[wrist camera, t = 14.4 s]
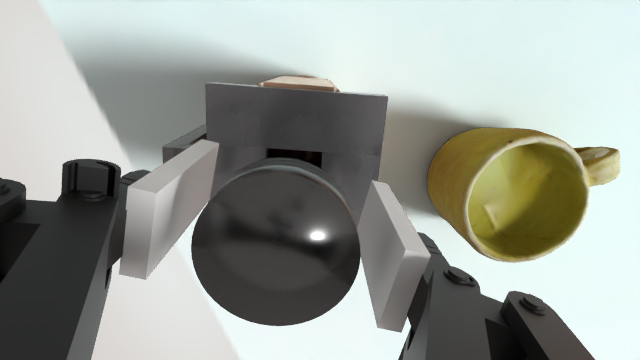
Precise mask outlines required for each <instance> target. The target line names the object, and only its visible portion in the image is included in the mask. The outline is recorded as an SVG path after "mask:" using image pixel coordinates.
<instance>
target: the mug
mask: <svg viewBox="0 0 640 360" xmlns="http://www.w3.org/2000/svg"><path fill="white" fill-rule="evenodd" d="M619 158H620V154H619V150H617V149H614V148H608V147H584V148H572V147H571V146H570V145H568V144H567V143H566V142H564V141H562V140H561V139H559V138H556V137H554V136H551V135H548V134H545V133H542V132H540V131H536V130H531V129H519V128H477V129H472V130H469V131H466V132H462V133H460V134H458V135H456V136H454V137H452V138H451V139H450V140H448V141H447V142H446V143H445V144H444V145H443V146H442V147H441V148H440V149H439V150H438V151H437V153H436V155H435V156H434V158H433V160H432V162H431V165H430V167H429V170H428V174H427V190H428V195H429V198H430V200H431V202H432V204H433V206H434V208H435V209H436V211H437V212H438V213H439V215H440V216H441V217H442V218H443V219H445V220H446V221H447V222H448V223H449V224H450V225H451V226H452V227H453V228H454V229H455V230H456V231H457V233H459V234H460V235H461V236H462V237H463V238H464V239H465V240H466V241H467V242H468V243H469V244H470V245H471V246H472V247H473V248H474V249H475V250H476V251H477V252H479V253H480V254H482V255H484V256H486V257H488V258H490V259H493V260H497V261H502V262H512V263H518V262H525V261H531V260H535V259H537V258H540V257H543V256H545V255H547V254H549V253H551V252H553V251H554V250H556V249H557V248H559V247H560V246H562V245H563V244H565V243H566V242H567V241H568V240H569V239H570V238H571V237H572V236H573V235H574V233H575V232H576V230H577V229H578V228H579V226H580V225H581V223H582V221H583V219H584V217H585V214H586V211H587V207H588V198H589V187H591V186H596V185H603V184H605V183H608V182H610V181H612V180H614V179H616V178H617V176H618V174H619V173H620V161H619Z"/></svg>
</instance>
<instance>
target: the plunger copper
mask: <svg viewBox="0 0 640 360" xmlns="http://www.w3.org/2000/svg"><path fill="white" fill-rule="evenodd" d="M321 157H322V152H316V151H302V150H288V149H273V148H268V159H263V160H259V161H256V162H253V163H250V164H248V165H246V166H244V167H242V168H241V169H239V170H238V171H236V172H235V173H234V174H233V175H231V176H230V177H229V178H228V179H227V180H226V181H225V183H224V184H223V185H222V186H221V188H220V189H219V190H218V191H217V193H216V194H215V195H214V197H213V198H212V199H211V200H210V202H209V203H208V204H207V205H206V207H205V208H204V209H203V211H202V213H201V214H200V216H199V218H198V220H197V223H196V225H195V228H194V232H193V236H192V245H191V251H192V260H193V265H194V268H195V271H196V274H197V277H198V279H199V280H200V282H201V284H202V286H203V287H204V289H205V290H206V292H207V293H208V294H209V295H210V296H211V297H212V298H213V300H214V301H215V302H217V303H218V304H219V305H220V306H221V307H223V308H224V309H226V310H227V311H229V312H230V313H232V314H234V315H236V316H238V317H239V318H242V319H245V320H247V321H250V322H254V323H258V324H263V325H270V326H286V325H294V324H299V323H303V322H306V321H310V320H312V319H314V318H317V317H319V316H321V315H323V314H324V313H326V312H328V311H329V310H330V309H332V308H333V307H334V306H336V305H337V304H338V303H339V302H340V301H341V300H342V299H343V298H344V296H345V295H346V294H347V292H348V291H349V290H350V288H351V286H352V284H353V283H354V280H355V278H356V275H357V273H358V268H359V264H360V255H361V254H360V242H359V237H358V232H357V228H356V224H355V220H354V216H353V212H352V208H351V205H350V202H349V200H348V198H347V196H346V194H345V192H344V191H343V189H342V188H341V187H340V185H339V184H338V183H337V182H336V181H335V180H334V179H333V178H332V177H331V176H330V175H329V174H327V173H326V172H325V171H323V170H322V169H321Z"/></svg>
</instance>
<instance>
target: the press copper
mask: <svg viewBox="0 0 640 360" xmlns="http://www.w3.org/2000/svg"><path fill="white" fill-rule="evenodd" d="M387 102H388V96H386V95H378V94H365V93H352V92H340V91H339V90H338V89H337V88H336V87H335V85H334V84H333V83H332V82H331V81H329V80H328V79H319V78H315V77H311V76H280V77H277V78H274V79H271V80H267V81H264V82H261V83H259V84H258V85H245V84H231V83H218V82H208V83H206V124H205V125H203V126H201V127H199V128H197V129H195V130H193V131H191V132H190V133H188V134H186V135H184V136H182V137H180V138H178V139H176V140H174V141H173V142H171V143H169V144H167V145H165V146H163V147H162V149H163V164H164V163H166V162H167V161H169V160H170V159H172V158H173V157H175V156H177V155H178V154H180V153H181V152H183V151H184V150H186V149H187V148H189V147H190V146H192V145H194V144H195V143H197V142H198V141H200V140H201V139H204V140H208V141H212V142H216V143H219V148H218V153H217V159H216V165H215V171H214V177H213V182H212V188H211V194H210V200H211V199H212V198H213V197H214V195H215V194H216V193H217V191H218V190H219V189H220V188H221V186H222V185H223V184H224V183H225V181H226V180H227V179H228V178H229V177H230V176H231V175H233V174H234V173H235V172H236V171H238V170H239V169H241V168H242V167H244V166H246V165H248V164H250V163H253V162H256V161H259V160H263V159H268V148H273V149H288V150H302V151H316V152H322V157H321V169H322V170H323V171H325V172H326V173H327V174H329V175H330V176H331V177H332V178H333V179H334V180H335V181H336V182H337V183H338V184H339V185H340V187H341V188H342V189H343V191H344V192H345V194H346V196H347V198H348V200H349V202H350V205H351V208H352V212H353V216H354V220H355V224H356V228H357V226H358V223H359V220H360V217H361V214H362V210H363V207H364V204H365V201H366V197H367V194H368V191H369V188H370V184H371V181H372V180H374V181H378V173H379V165H380V157H381V149H382V141H383V133H384V125H385V117H386V109H387ZM210 200H209V201H208V203H209V202H210ZM360 257H361V255H360Z"/></svg>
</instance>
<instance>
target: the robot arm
mask: <svg viewBox="0 0 640 360" xmlns="http://www.w3.org/2000/svg"><path fill="white" fill-rule="evenodd" d="M218 148H219V143H216V142H212V141H208V140H204V139H201V140H200V141H198V142H197V143H195V144H194V145H192V146H190V147H189V148H187V149H186V150H184V151H183V152H181V153H180V154H178V155H177V156H175V157H173V158H172V159H170V160H169V161H167V162H166V163H164V164H163V165H161V166H159V167H158V168H156V169H155V170H153V171H152V172H151V171H147V170H138V171H134V172H129V173H128V174H126V175H124V176H122V178H120V175H121V168H120V167H119V166H118V165H116V164H114V163H111V162H108V161H102V160H95V159H76V160H71V161H67V162H66V163H64V164H63V170H62V192H61V195H60V197H59V198H58V200H57V201H56V202H51V201H36V200H26V187H25V185H23V184H21V183H20V182H17V181H13V180H7V179H2V178H0V360H91V357H92V353H93V349H94V345H95V341H96V337H97V333H98V329H99V325H100V321H101V317H102V313H103V309H104V305H105V301H106V297H107V292H108V288H109V285H110V281H111V272H112V265H113V264H114V263H115V262H116V261H117V260H118V259H119V258H120V257H121V260H120V270H119V274H121V275H126V276H130V277H135V278H140V279H147V277H148V276H149V275H150V274H151V272H152V271H153V270H154V269H155V267H156V266H157V265H158V264H159V262H160V261H161V260H162V259H163V257H164V256H165V255H166V254H167V252H168V251H169V250H170V249H171V247H172V246H173V245H174V244H175V242H176V241H177V240H178V239H179V237H180V236H181V235H182V234H183V232H184V231H185V230H186V229H187V227H188V226H189V225H190V224H191V222H192V221H193V220H194V219H195V217H196V216H197V215H198V214H199V212H200V211H201V210H202V208H203V207H204V206H205V205H206V203H207V202H208V201H209V200H210V194H211V188H212V182H213V177H214V171H215V165H216V159H217V153H218ZM357 232H358V237H359V242H360V254H361V259H362V263H363V267H364V272H365V276H366V280H367V285H368V289H369V293H370V297H371V302H372V306H373V310H374V315H375V319H376V323H377V327H378V328H382V329H386V330H391V331H396V332H402V329H403V327H404V324H405V321H406V319H407V316H408V319H409V322H410V324H411V329H410V331H409V334H408V336H407V339H406V341H405V344H404V346H403V349H402V352H401V354H400V357H399V359H398V360H595V359H594V358H593V356H592V355H591V354H590V353H589V352H588V350H587V349H586V348H585V347H584V346H583V344H582V343H581V342H580V341H579V340H578V338H577V337H576V336H575V335H574V334H573V332H572V331H571V330H570V329H569V328H568V326H567V325H566V324H565V323H564V322H563V320H562V319H561V318H560V317H559V316H558V314H557V313H556V312H555V311H554V310H553V309H552V308H551V307H550V306H548V305H547V304H545V303H544V302H543V301H542V300H541V299H539V298H537V297H535V296H533V295H531V294H525V293H523V292H517V291H511V292H509V293H508V295H507V297H506V299H505V301H504V303H502V302H500V301H497V300H494V299H492V298H489V297H487V296H484V295H482V294H481V293H480V286H479V284H478V282H477V281H476V280H475V279H474V278H473V277H472V276H470V275H469V274H467V273H466V272H464V271H462V270H460V269H458V268H455V267H452V266H450V265H449V264H448V262H447V261H446V259H445V258H444V256H443V255H442V253H441V252H440V250H439V249H438V247H437V246H436V244H435V243H434V241H433V240H432V239H430V238H429V237H428V236H427V235H425V234H423V233H419V232H416V230H415V228H414V227H413V225H412V223H411V222H410V220H409V218H408V217H407V215H406V213H405V212H404V210H403V208H402V207H401V205H400V203H399V202H398V200H397V198H396V197H395V195H394V193H393V192H392V190H391V188H390V187H389V185H388V184H386V183H382V182H378V181H374V180H372V181H371V184H370V188H369V191H368V194H367V197H366V201H365V204H364V207H363V210H362V214H361V217H360V220H359V223H358V226H357Z"/></svg>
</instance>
